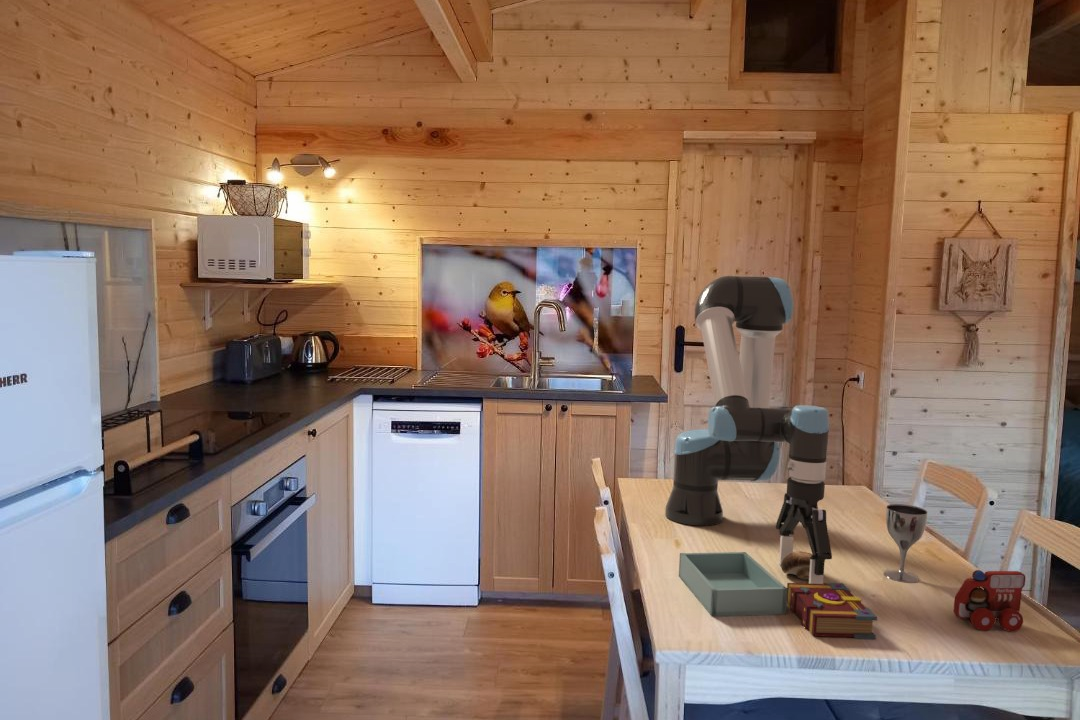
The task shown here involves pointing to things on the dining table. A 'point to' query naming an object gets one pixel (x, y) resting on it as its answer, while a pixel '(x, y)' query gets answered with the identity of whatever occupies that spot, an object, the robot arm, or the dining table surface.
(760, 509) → the dining table surface
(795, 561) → the mushroom
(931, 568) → the dining table surface
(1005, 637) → the dining table surface
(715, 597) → the open rectangular box
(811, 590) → the decorative book
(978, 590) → the toy fire truck
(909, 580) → the wine glass
